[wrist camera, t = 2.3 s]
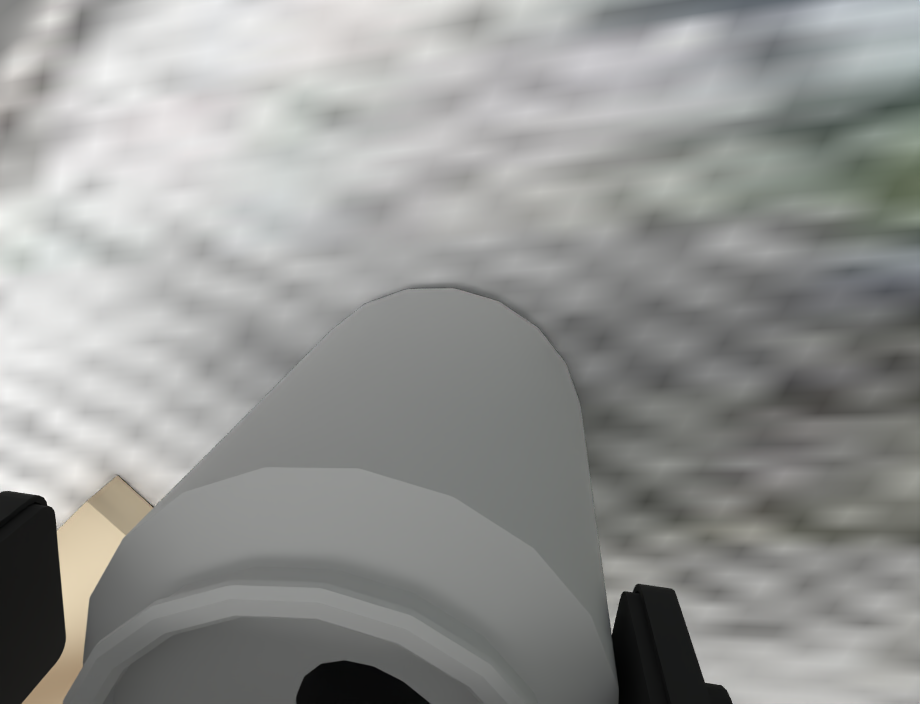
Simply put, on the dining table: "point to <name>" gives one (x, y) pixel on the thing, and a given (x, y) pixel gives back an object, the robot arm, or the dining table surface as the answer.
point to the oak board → (86, 574)
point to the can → (374, 533)
